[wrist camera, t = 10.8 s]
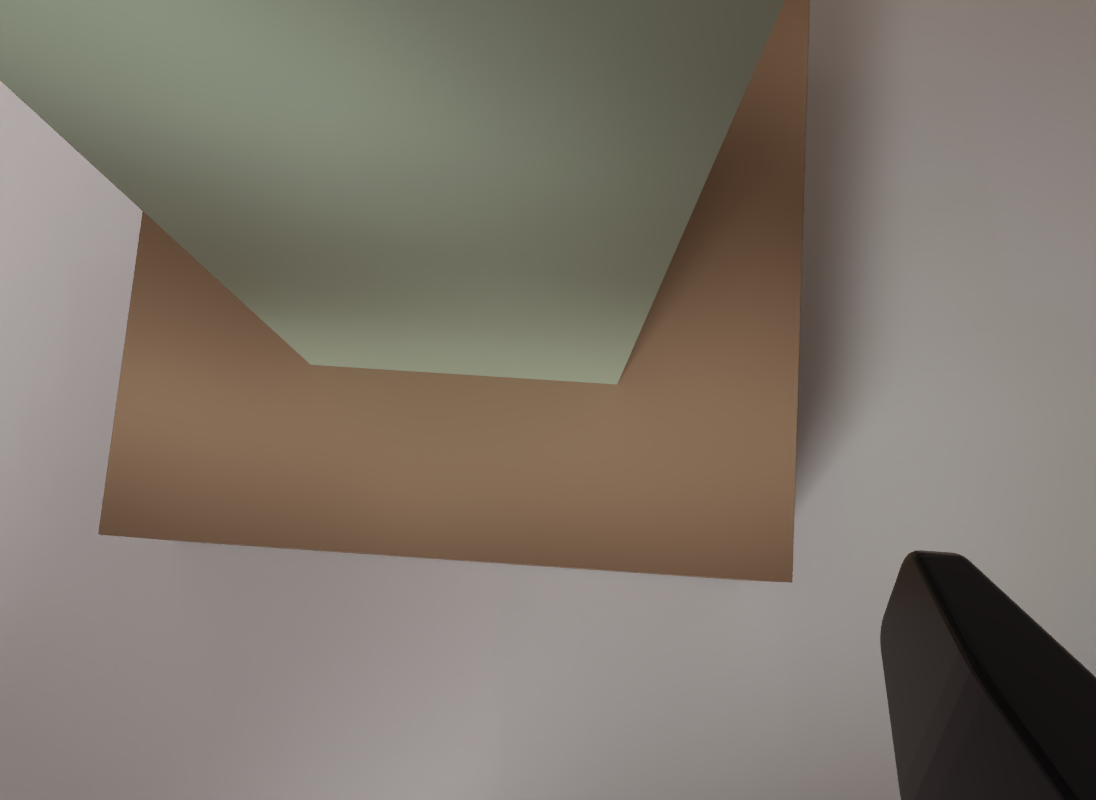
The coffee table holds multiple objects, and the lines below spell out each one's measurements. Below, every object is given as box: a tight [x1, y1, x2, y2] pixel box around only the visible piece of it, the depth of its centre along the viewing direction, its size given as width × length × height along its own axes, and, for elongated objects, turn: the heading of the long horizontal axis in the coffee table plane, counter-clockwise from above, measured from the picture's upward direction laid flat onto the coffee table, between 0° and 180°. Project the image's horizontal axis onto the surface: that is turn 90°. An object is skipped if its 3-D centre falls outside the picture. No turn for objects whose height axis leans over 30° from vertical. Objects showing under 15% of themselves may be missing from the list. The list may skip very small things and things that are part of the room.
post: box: [0, 0, 785, 384], centre depth 11 cm, size 5×5×13 cm
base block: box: [98, 0, 810, 582], centre depth 19 cm, size 11×11×4 cm
